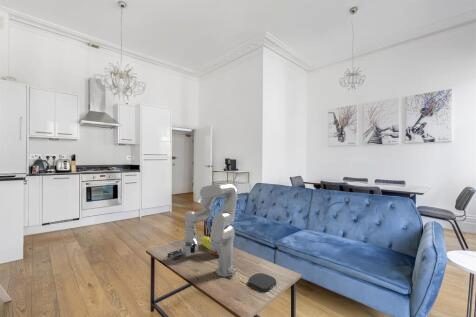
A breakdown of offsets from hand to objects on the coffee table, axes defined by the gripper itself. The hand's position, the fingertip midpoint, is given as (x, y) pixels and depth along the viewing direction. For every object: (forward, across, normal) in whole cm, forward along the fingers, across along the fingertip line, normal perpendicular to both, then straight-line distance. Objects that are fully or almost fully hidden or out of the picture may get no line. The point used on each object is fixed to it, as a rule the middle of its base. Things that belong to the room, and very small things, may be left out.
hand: (190, 251), depth 167 cm
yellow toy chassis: (+6, +7, -24) cm, 25 cm away
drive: (+2, 0, 0) cm, 2 cm away
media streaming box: (+8, -60, -10) cm, 61 cm away
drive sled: (+5, +11, +4) cm, 13 cm away
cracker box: (+6, -10, -20) cm, 23 cm away
